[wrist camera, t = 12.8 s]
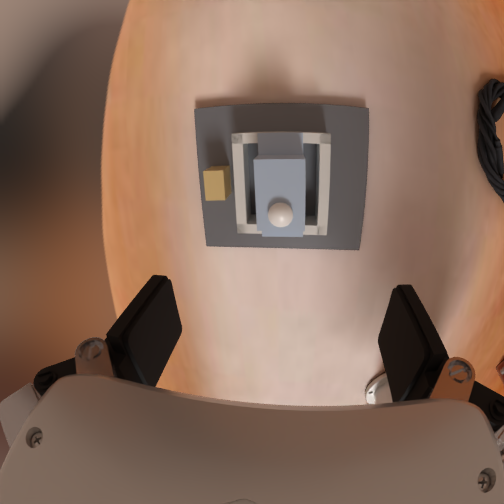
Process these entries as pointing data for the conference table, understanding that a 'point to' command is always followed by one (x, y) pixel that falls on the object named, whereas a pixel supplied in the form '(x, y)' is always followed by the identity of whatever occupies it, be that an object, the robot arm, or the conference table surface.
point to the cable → (491, 134)
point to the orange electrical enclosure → (501, 370)
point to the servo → (280, 184)
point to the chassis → (316, 166)
